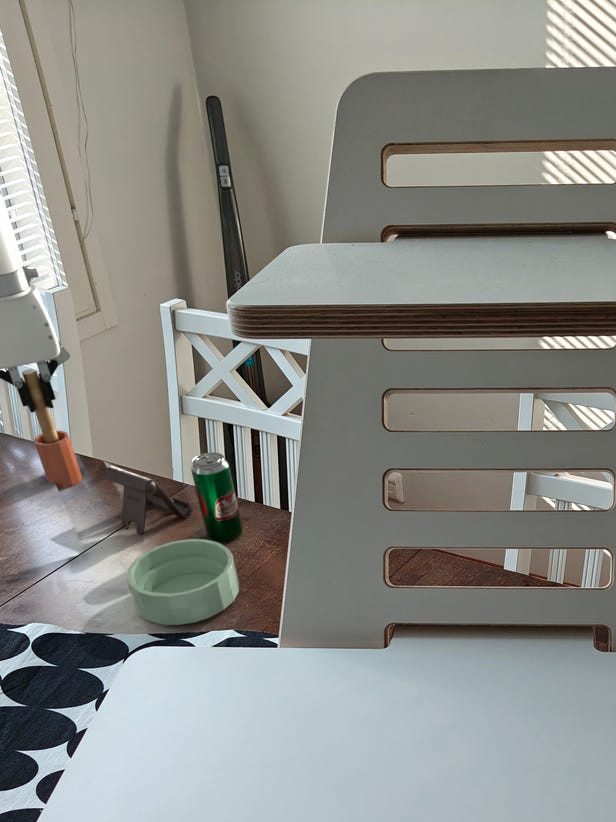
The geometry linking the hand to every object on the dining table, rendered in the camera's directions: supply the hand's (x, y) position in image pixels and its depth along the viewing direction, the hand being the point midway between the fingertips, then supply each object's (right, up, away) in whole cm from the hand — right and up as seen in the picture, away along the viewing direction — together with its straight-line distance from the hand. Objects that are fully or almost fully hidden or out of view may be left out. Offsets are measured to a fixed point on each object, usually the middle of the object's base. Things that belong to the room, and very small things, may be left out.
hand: (40, 406), depth 147 cm
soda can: (+29, -20, -6) cm, 36 cm away
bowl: (+28, -30, -19) cm, 45 cm away
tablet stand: (+18, -17, -2) cm, 25 cm away
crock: (0, -10, +8) cm, 13 cm away
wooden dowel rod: (0, -10, +8) cm, 13 cm away
